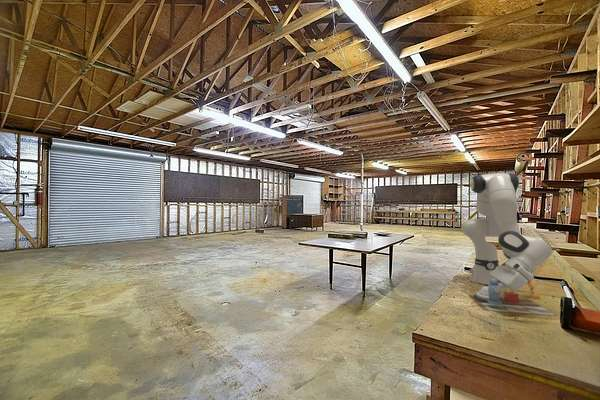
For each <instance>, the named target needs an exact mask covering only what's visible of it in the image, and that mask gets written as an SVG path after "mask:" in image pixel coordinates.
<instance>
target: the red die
mask: <svg viewBox="0 0 600 400" xmlns="http://www.w3.org/2000/svg"><path fill="white" fill-rule="evenodd" d="M503 291H504V297H505V300H506V301H508V302H515V303H519V298H520V297H519V293H517V292H516V291H513V290H511V291H509V290H503Z"/></svg>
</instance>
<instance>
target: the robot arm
mask: <svg viewBox="0 0 600 400" xmlns="http://www.w3.org/2000/svg"><path fill="white" fill-rule="evenodd" d="M519 180H520V179H519V177H518V175H517V174H515V173H513V172H512V173H511V172H507V173H504V172H503V173H502V172H498V173H497V172H496V173H495V172H493V173H487V174H486V173H485V174H476V175H474V176H473V177H471V179H470V182H469V187H470V189H471V192H473V193H475V194H477V195H476V203H475V205H476V207H475V210H476V211H477V212H478V213H479V214H480V215H482V216H483V217H486V218H471V219H465V220H463V221H462V223H461V227H460V229H461V232H462V233H463V235H465V236H466V237H468V238H469V239H470V241H471V242H472V243H473V246H474V250H475V258H474V265H473V266H472V267H471V268H470V269H469V273H470V274H467V278H468V277H469V278H468V280H469V282H471V281H472V283H478V284H483V285H486V286H488V284H490V283H489V280H490V279H492V278H494V279H496V280H497V281H498V285H499V286H497V287H495V288H493V290H494V291H495V292H497V293H498V292H499V291H500V292H501V291H504V290H506V289H507V288H508V289H510V290H511V291H513V292H516V291H519V290H520V289H521V288H523V287H524V286H526V285H527V282H528V280H529V281H531V282H532V281H533V280H534V279H535V277H534V275H533V274H532V273H533V272H534V271H535V269H536V268H537V267H539V266H541V265H542V264H544V263H545V262H546V261H547V260H548V259H550V257H551V256H552V254H553V252H554V251H553V247H552V246H551V245H550V244H549V243H548V241H547V240H545V239H543V238H542V237H539V236H528V235H525V234H522V233H521V232H520V227H519V224H518V215H517V213H518V212H517V211H518V200H517V199H518V198H517V193H516V191H517V190H518V188H519V186H520V181H519ZM477 212H476V213H477ZM486 237H487V238H488V237H489V238H490V237H492V238H498V244H499V246H500V248H501V250H502V254H503V255H504V257H506V259H507V260H506V261H505V263H504V264H501V265H500V264H499V262H500V261H499V259H498V248H497V246H496V244H494V243H492V242H489V241H487V240H486Z"/></svg>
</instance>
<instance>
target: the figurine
mask: <svg viewBox="0 0 600 400" xmlns="http://www.w3.org/2000/svg"><path fill="white" fill-rule="evenodd" d="M526 285H527V286H528V288H529V289H530V292H531V293H530V294H529V298H530V299H531V300H532V299H533V300H541V295H540V294H539V293H538V292H536V291H534V288H535V285H533V282H532V280H531V281H529V280H528V282H527V283H526Z"/></svg>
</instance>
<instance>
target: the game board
mask: <svg viewBox="0 0 600 400" xmlns="http://www.w3.org/2000/svg"><path fill="white" fill-rule="evenodd" d="M467 296H468V297H469V298H470V299H471V300H472V301H473V302H474V303H475V304H476V305H477V306H478V307H480V309H482V311H486V312H487V311H488V312H500V313H514V314H525V315H526V314H528V315H541V316H552V317H553V316H554V317H556V316H557V315H556V314H554V313H553V312H551V311H550V310H548V309H546V308H545V307H543V306H541V305H539V304H538V303H536V302H534V301H533V300H532V299H529V298H528V297H518V298H519V303H515V302H508V301H506V300H505V296H500V300H501V301H502V304H501V305H495V304H491V303H488V302H487V300H486V299H481V298H479V297H477V296H476V293H475V294H467ZM492 315H494V316H496V314H495V313H494V314H492ZM505 316H509V315H507V314H506V315H505ZM518 317H521V318H522V316H518ZM531 318H535V317H532V316H531ZM544 319H545V320H548V318H544Z"/></svg>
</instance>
